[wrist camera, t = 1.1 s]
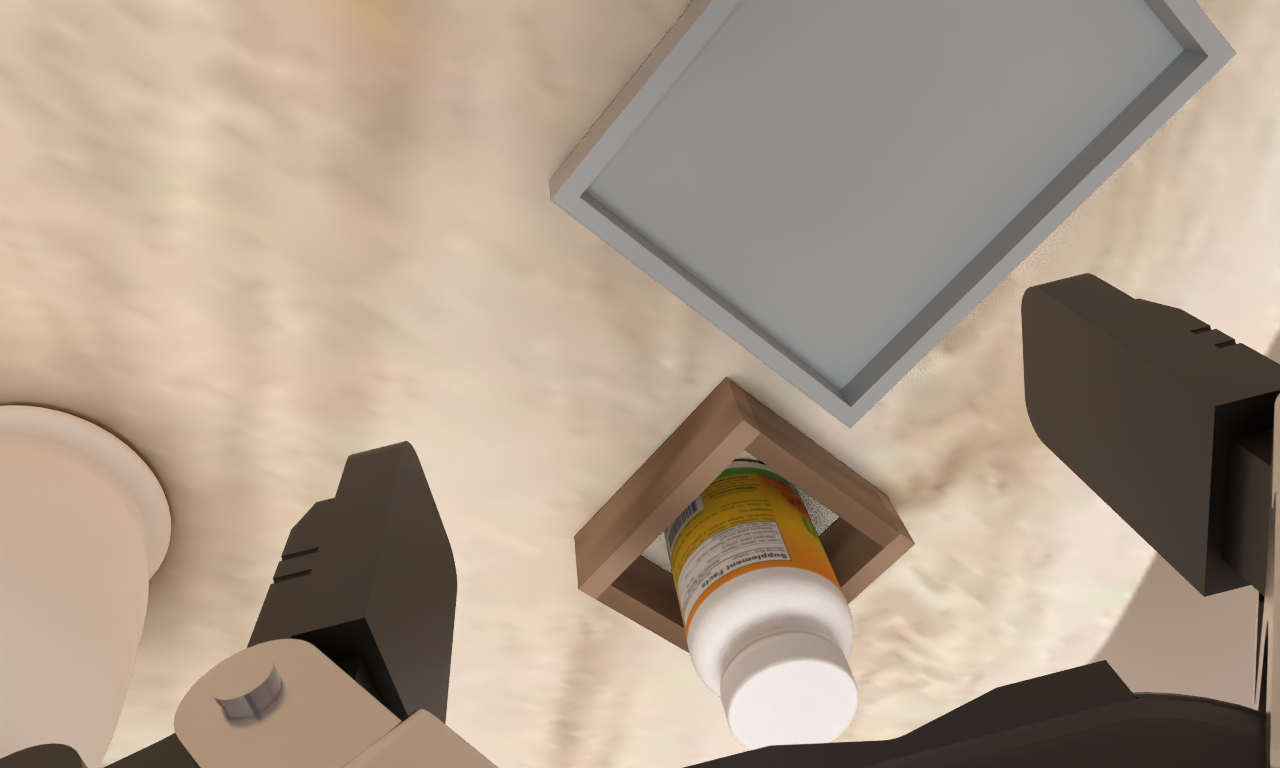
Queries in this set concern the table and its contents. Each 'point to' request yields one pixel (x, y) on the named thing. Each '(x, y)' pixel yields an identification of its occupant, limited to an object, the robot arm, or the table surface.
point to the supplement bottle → (763, 610)
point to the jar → (71, 577)
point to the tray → (871, 162)
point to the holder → (688, 468)
